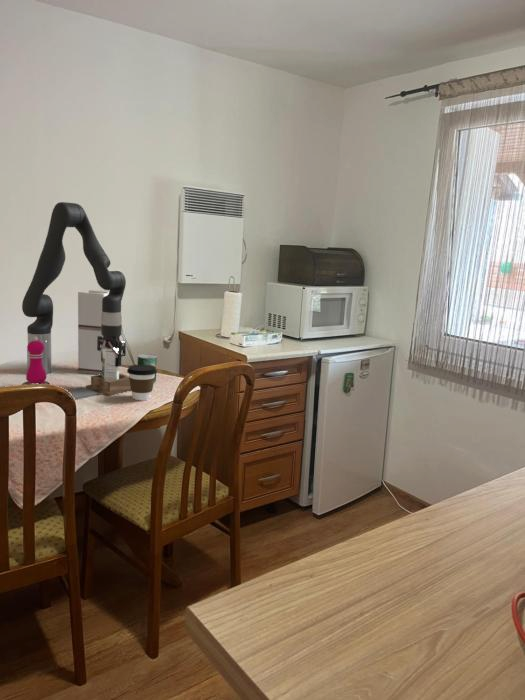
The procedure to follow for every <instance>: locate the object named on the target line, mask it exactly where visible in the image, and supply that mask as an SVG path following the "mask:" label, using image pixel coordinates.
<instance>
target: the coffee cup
mask: <svg viewBox="0 0 525 700" xmlns="http://www.w3.org/2000/svg"><path fill="white" fill-rule="evenodd" d="M157 371H158V369H157V366H156V367H154V366H151V365H138V364H134V365H133V364H132V365H129V366H128V368H127V370H126V372H127V373H128V376H129V380H130V387H131V391H130V392H131V396H132V399H133V400H134V399H135V400H134V401H138V400H145V401H148V400H147V399H149V400H150V399H151V396H152V391H153V389H154V384H155V383H154V378H155V373H156V374H157Z"/></svg>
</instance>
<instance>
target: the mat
mask: <svg viewBox="0 0 525 700" xmlns="http://www.w3.org/2000/svg"><path fill="white" fill-rule="evenodd" d="M67 390H68V392H70V393H71V394H72V396H73V397H74V398H75V400H74V401H76V400H79V399H84V398H89V397H94V396H98V395H100V394H101V393H99V392H96V391H93V390H90V389H87V388H86V387H83V386H79V387H74V388H70V389H67Z"/></svg>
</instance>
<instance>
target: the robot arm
mask: <svg viewBox="0 0 525 700" xmlns="http://www.w3.org/2000/svg"><path fill="white" fill-rule="evenodd" d="M53 207H54V208H53V209H52V212H51V215H50V221H49V225H48V226H49V227H48V229H47V234H46V238H45V240H44V244H43V248H42V250H41V253H40V254H39V255H40V256H39V258H38V262H37V265H36V268H35V272H34V274H33V277H32V278H31V279H32V280H31V282H30V284H29V286H28V288H27V290H26V292H25V295H24V296H23V300H22V305H21V311H22V313H23V315H24V316H26V317H27V318H36V319H35V320H34V321H33V322H31V323H30V324H28V325H27V329H26V330H27V345H28V344H29V343H30V342H31V341H33V338H34V337H37V338H38V341H40V342H42V343H43V345H44V351H43V352H42V353H43V357H42V365H43V368H44V370H45V372H46V375H48V374H51V373H52V370H53V369H52V367H53V366H52V365H53V364H52V328H53V322H54V321H53V320H54V301H53V300H52V297H50V295H48V294H45V291H46V290H47V288H48V287H50V285H51V284H52V283H53V282H55V281H56V280H57V278H58V277H60V274H61V273H62V271H63V269H64V268H63V267H64V265H65V262H66V251H65V248H64V243H63V240H64V238H63V237H64V235H65V231H66V230H67V228H74V229H75V230H77V232H78V233H79V234H80V236H81V238H82V250H83V253H84V256H85V258H86V259H87V261H88V262H89V264H90V266H91V267H92V270H93V273H94V276H95V279H96V282H97V284H98V286H99V287H100V288H101V289H103V290H105V291H108V292H109V294H108V295H107V296H105V297H103V299H102V317H101V334H102V336H98V337H97V350H98V351H100V353H101V362H102V356H103V349H104V348H105V347H107V348H111V349H112V352H114V354H115V356H116V357H115V366H116V367H119V368H120V367H122V357H125V356H126V353H127V351H126V347H127V346H126V345H127V344H126V342H127V341H126V340H120V337H121V336H122V323H123V322H122V321H123V320H122V300H123V297H124V294H125V289H126V282H127V281H126V277H125V275H124V273H123V272H122V271H119V270H109V269H108V268H109V267H110V266H111V260H110V258H109V256H108V254H107V253H106V251H105V250H104V249H103V247H102V245H101V244H100V241H99V240H98V238H97V236H96V234H95V231H94V229H93V226H92V225H91V223H90V219H89V217H88V215H87V213H86V211H85V209H84V208H83V206H82V205H80V204H78V203H75V202H74V203H73V202H67V201H60V202H57V203H56V204H55V205H54V206H53ZM100 345H101V347H100ZM117 348H118V349H117ZM117 351H118V353H119V354H118V353H117ZM26 358H27V362H26V365H27V366H26V367H27V370H28V369H29V366H30V358H29V351H28V350H27V349H26ZM50 372H51V373H50ZM47 373H48V374H47Z"/></svg>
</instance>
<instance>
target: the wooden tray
mask: <svg viewBox="0 0 525 700" xmlns="http://www.w3.org/2000/svg"><path fill="white" fill-rule="evenodd" d="M85 388H87V389H90V390H93V391H96V392H99V393H100V394H102V395H104V396H108V397H111V396H112V395H113V396H116V395H115V394H117V395H120V394H119V393H121V394H124V393H123V392H125V393H128V392H127V391H129V392H132V391H131V387H130V380H129V375H127V374H124V373H121V372H119V379H118V380H113V381H109V380H106V379H102V374H100V375H98V374H94V375H91V376H90V384H88V385H86V386H85Z"/></svg>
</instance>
